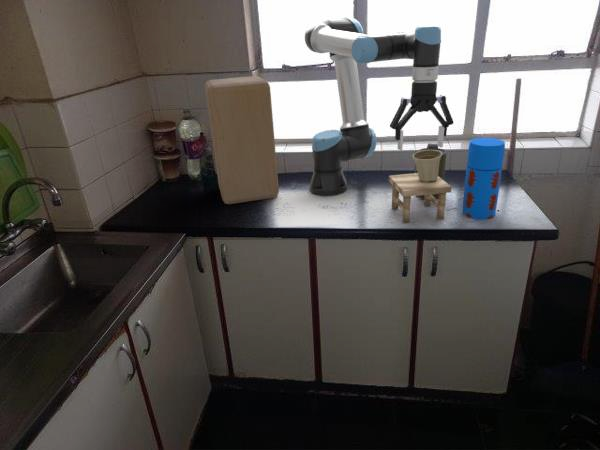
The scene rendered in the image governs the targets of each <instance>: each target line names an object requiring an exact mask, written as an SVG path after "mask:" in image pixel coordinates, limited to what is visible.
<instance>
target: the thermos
mask: <svg viewBox="0 0 600 450" xmlns="http://www.w3.org/2000/svg"><path fill="white" fill-rule="evenodd" d="M467 150H468V151H467V160H466V170H465V179H464V187H463V188H464V189H463V198H462V199H463V200H462V212H461V213H462V215H463V216H465V217H467V218H470V219H472V220H483V221H484V220H490V219H493V218H494V217H495V215H496V211H497V207H498V206H497V205H498V199H499V194H500V193H499V192H500V185H501V180H502V179H501V178H502V170H503V164H504V159H505V158H504V157H505V152H506V151H505V150H506V142H505V141H504V139H503V140H502V139H499V138H493V137H479V138H478V137H476V138H473V139H471V140H470V141H469V145H468V149H467Z"/></svg>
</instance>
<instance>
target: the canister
mask: <svg viewBox="0 0 600 450" xmlns="http://www.w3.org/2000/svg"><path fill="white" fill-rule="evenodd" d="M423 150H437V151H440V152H442V156H441V159H440V162H439V171H438V176H439V177H440V178H441V179H442V180H444V181H445V174H446V172H445V171H446V165H447V164H446V163H447V154H448V151H447V150H445V149H443V148H441V147H439V146H438V145H437V143H431V142H430V143H427V146H426V147H425V148H424V147H423V148H420V149H418V150H416V151H415V153H416V152H419V151H423ZM414 163H415V165H414V173H418V171H417V167H416V162H415V161H414ZM431 195H432V196H434V197H435V198H436V199H437V200H438V194H431ZM415 197H416V198H417V199H419V200H421V201H424V195H418V196H415Z"/></svg>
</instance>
